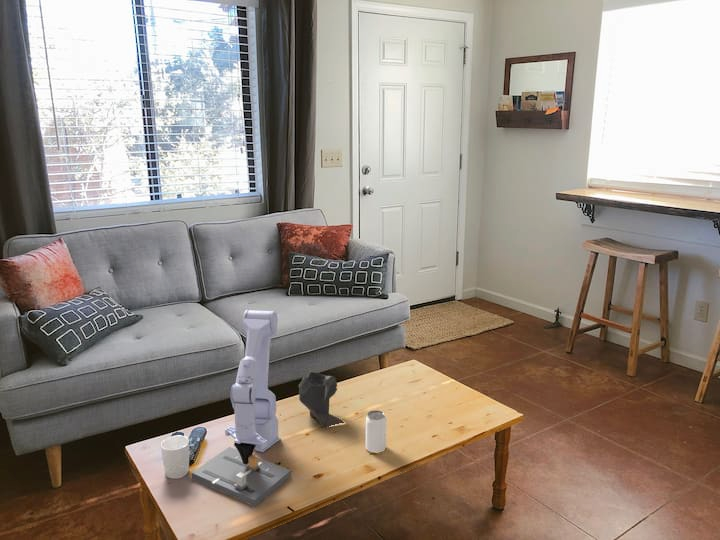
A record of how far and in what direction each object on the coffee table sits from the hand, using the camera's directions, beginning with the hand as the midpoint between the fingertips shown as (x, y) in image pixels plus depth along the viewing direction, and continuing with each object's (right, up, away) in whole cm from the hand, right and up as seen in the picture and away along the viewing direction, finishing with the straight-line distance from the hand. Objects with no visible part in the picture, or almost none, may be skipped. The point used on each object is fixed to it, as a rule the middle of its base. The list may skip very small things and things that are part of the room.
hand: (247, 462), depth 175 cm
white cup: (-21, -3, +1) cm, 21 cm away
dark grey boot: (+20, +5, +32) cm, 38 cm away
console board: (-1, -4, -2) cm, 4 cm away
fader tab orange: (+2, -1, -1) cm, 3 cm away
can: (+39, 0, +14) cm, 41 cm away
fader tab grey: (0, -3, -9) cm, 10 cm away
